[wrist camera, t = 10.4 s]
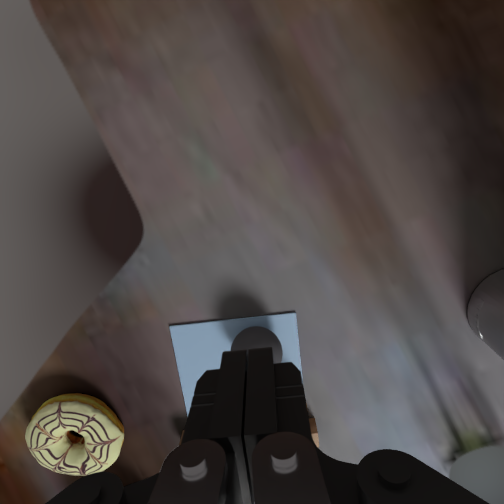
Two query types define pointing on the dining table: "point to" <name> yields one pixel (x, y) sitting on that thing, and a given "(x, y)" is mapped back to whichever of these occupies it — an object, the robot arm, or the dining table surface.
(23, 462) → the dining table surface
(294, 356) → the light blue square plate
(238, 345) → the dark gray ball
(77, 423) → the decorated donut
